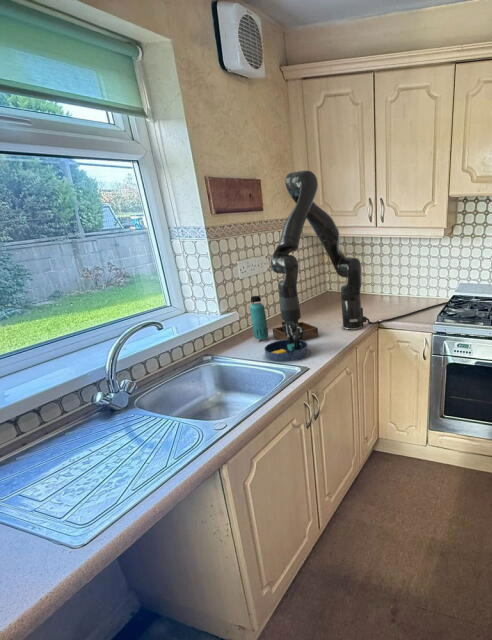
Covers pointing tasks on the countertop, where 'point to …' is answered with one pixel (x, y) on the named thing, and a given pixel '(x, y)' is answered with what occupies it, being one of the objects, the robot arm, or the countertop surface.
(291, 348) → the block
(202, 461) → the countertop surface
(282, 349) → the block
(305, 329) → the box
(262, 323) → the beverage bottle
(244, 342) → the countertop surface
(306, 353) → the bowl
